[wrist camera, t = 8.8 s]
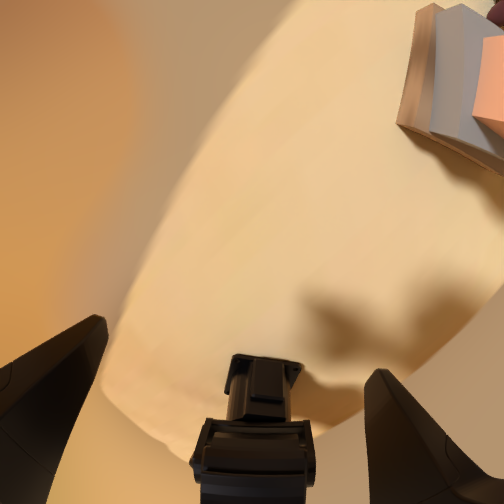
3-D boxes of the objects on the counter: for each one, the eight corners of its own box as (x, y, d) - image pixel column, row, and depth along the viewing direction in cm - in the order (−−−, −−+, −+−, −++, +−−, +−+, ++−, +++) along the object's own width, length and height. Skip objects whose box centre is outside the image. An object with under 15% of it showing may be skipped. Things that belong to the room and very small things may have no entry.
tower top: (509, 163, 13) (536, 176, 10) (428, 130, 13) (457, 138, 10) (517, 64, 9) (544, 65, 6) (435, 13, 9) (461, 3, 7)
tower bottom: (481, 167, 16) (505, 177, 13) (392, 123, 16) (413, 126, 13) (500, 70, 12) (524, 71, 9) (413, 13, 11) (433, 2, 9)
